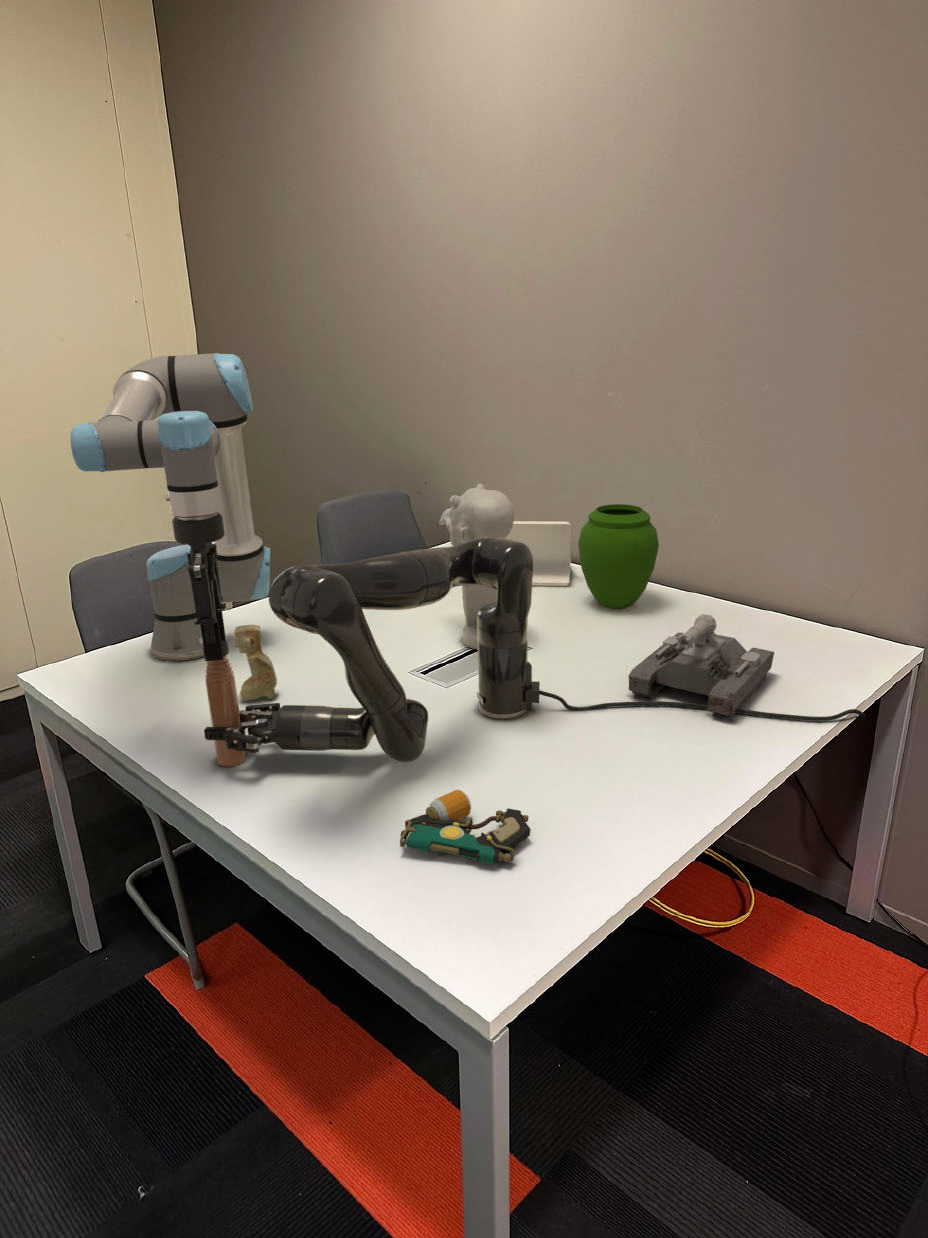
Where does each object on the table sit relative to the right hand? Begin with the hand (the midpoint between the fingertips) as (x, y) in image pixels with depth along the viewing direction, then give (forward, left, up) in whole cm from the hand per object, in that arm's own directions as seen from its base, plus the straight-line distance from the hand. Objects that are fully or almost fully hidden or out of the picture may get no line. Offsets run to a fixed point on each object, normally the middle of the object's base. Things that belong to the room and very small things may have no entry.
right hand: (211, 725), depth 145 cm
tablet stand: (-89, -73, -6) cm, 116 cm away
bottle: (-2, +1, -6) cm, 7 cm away
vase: (-100, -41, -6) cm, 109 cm away
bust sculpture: (-61, -35, -6) cm, 70 cm away
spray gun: (-32, +38, -6) cm, 51 cm away
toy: (-93, +7, -6) cm, 93 cm away
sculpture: (-10, -22, -6) cm, 25 cm away
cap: (-2, +1, +15) cm, 15 cm away
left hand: (-2, +1, +13) cm, 14 cm away
